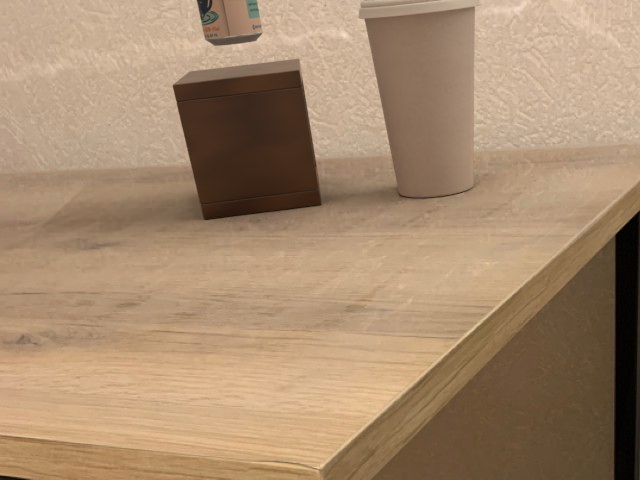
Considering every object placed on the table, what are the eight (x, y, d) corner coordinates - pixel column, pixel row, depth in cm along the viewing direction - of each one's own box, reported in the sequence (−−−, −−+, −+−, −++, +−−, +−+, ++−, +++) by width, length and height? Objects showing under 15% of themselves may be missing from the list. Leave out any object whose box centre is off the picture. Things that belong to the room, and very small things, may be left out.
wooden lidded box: (203, 219, 76) (172, 84, 70) (215, 191, 87) (188, 71, 81) (321, 204, 77) (299, 69, 71) (318, 178, 87) (299, 58, 82)
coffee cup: (513, 184, 76) (503, -31, 68) (419, 207, 72) (395, -19, 64) (450, 173, 83) (434, -25, 74) (361, 193, 79) (332, -13, 71)
